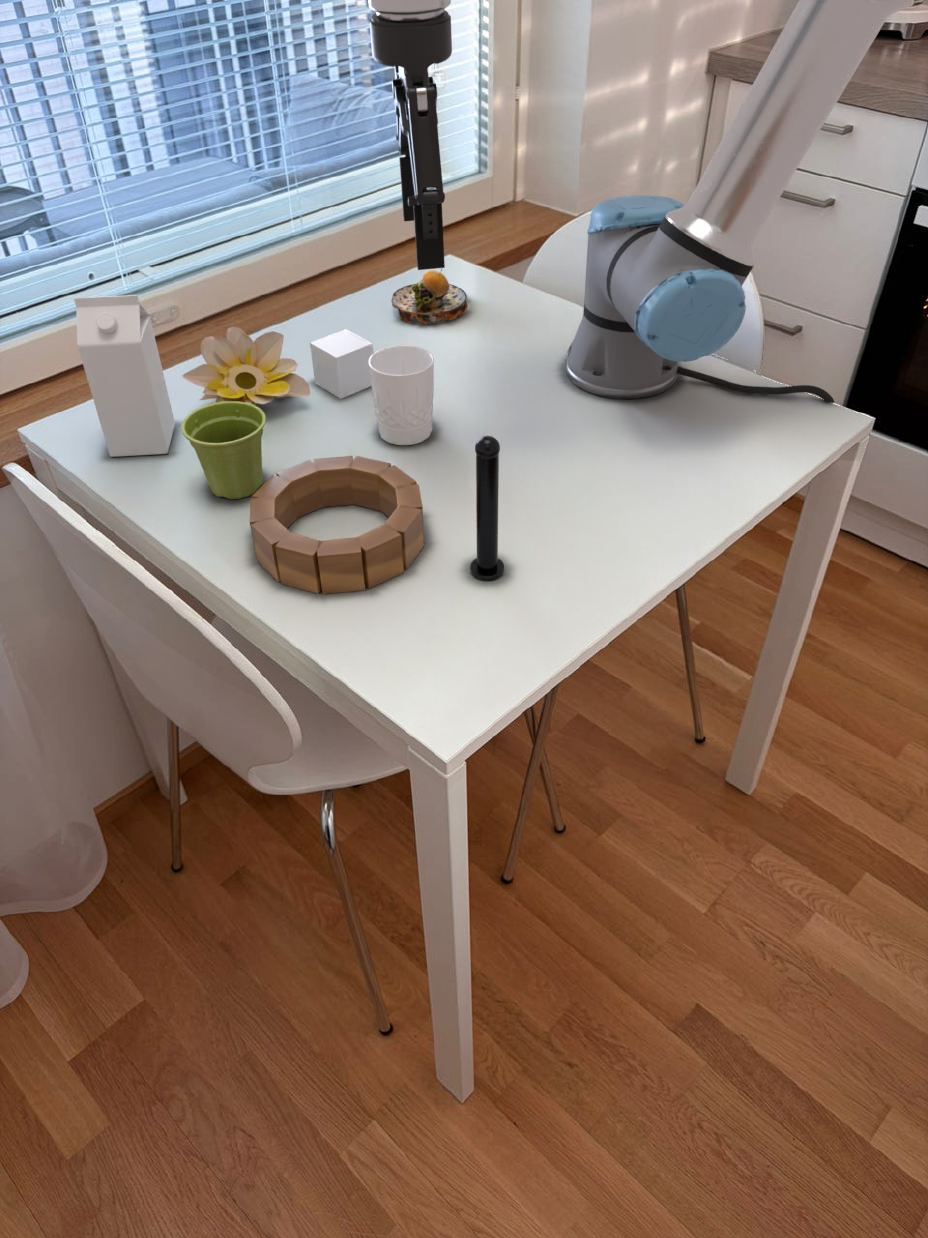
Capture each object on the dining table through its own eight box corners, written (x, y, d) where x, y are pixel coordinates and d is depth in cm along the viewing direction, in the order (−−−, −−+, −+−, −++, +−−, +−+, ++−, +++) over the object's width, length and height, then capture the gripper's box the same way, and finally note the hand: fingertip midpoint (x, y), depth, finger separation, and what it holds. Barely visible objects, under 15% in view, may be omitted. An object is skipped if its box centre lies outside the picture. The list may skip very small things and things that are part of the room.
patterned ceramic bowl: (435, 285, 160) (433, 239, 155) (483, 309, 153) (483, 261, 148) (375, 307, 154) (371, 259, 149) (422, 332, 147) (420, 283, 142)
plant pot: (209, 517, 113) (194, 452, 107) (186, 476, 119) (171, 413, 113) (287, 495, 116) (276, 430, 110) (261, 456, 122) (250, 393, 117)
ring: (414, 486, 117) (412, 450, 114) (431, 583, 103) (429, 545, 100) (259, 500, 115) (252, 463, 112) (255, 600, 102) (247, 562, 98)
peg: (501, 558, 106) (503, 426, 96) (506, 579, 104) (509, 445, 93) (468, 561, 106) (466, 429, 95) (472, 582, 103) (471, 449, 93)
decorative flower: (204, 432, 123) (189, 350, 119) (183, 412, 132) (168, 336, 128) (317, 410, 129) (307, 332, 124) (290, 392, 138) (279, 319, 133)
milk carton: (120, 428, 128) (80, 285, 115) (175, 425, 128) (142, 282, 116) (110, 458, 123) (67, 311, 110) (168, 454, 123) (132, 308, 110)
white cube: (376, 384, 136) (373, 343, 132) (340, 399, 133) (336, 357, 129) (349, 368, 139) (345, 328, 135) (314, 383, 136) (309, 342, 132)
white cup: (428, 451, 123) (425, 378, 116) (367, 445, 124) (360, 372, 117) (442, 419, 128) (440, 347, 122) (383, 413, 130) (378, 342, 123)
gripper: (359, -12, 100) (378, 204, 114) (380, 44, 81) (399, 293, 95) (433, -17, 100) (442, 198, 115) (470, 38, 82) (476, 286, 96)
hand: (423, 242), depth 105 cm, fingers open, 13 cm apart
